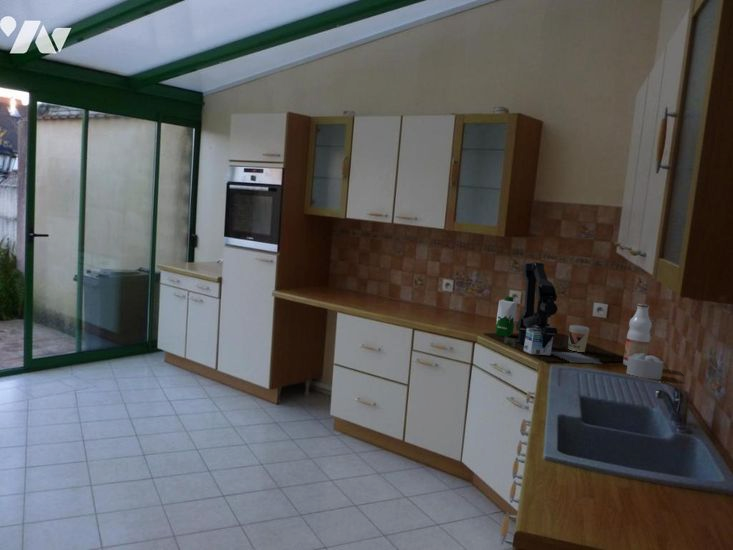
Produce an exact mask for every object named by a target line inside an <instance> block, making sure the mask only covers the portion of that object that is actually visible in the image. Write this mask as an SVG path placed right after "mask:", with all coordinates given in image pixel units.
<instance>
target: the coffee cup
mask: <svg viewBox="0 0 733 550" xmlns="http://www.w3.org/2000/svg"><path fill="white" fill-rule="evenodd" d="M568 328H569V331H568V344H567V350H568V349H569V350H572V351H577V352H584V353H585V352H586V347H587V343H588V339H589V333H590V330H591V329H590V327H588V326H585V325H579V324H570V325H569V327H568ZM569 350H568V351H569ZM572 351H571V352H572ZM577 352H576V353H577Z"/></svg>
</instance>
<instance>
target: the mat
mask: <svg viewBox="0 0 733 550" xmlns="http://www.w3.org/2000/svg"><path fill="white" fill-rule="evenodd" d="M552 354H553V356H555V357H557V356H558V357H557V358H559V357H560V358H559V359H562V358H563V359H562V360H564V359H565V360H564V361H566V360H567V361H566V362H568V361H569V363H571V364H572V363H573V364H590V363H594V364H593V365H603V362H601V361H598V360H597V359H593V358H591V357H589V356H586V355H583V354H582V353H577V352H566V351H562V352H559V351H551V355H552Z"/></svg>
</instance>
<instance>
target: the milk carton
mask: <svg viewBox="0 0 733 550" xmlns="http://www.w3.org/2000/svg"><path fill="white" fill-rule="evenodd" d="M504 298H505V299H500V300H498V307H497V313H496V320H495V321H496V322H495V335H496V336H501V337H505V336H508V337H507V338H510V337H512V336H511V335H513V333H514V332H513V331H514V327H515V320H516V314H517V303H518V301H514V297H513V296H509V295H508V296H505V297H504ZM509 336H510V337H509Z"/></svg>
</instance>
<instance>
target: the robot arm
mask: <svg viewBox="0 0 733 550" xmlns="http://www.w3.org/2000/svg"><path fill="white" fill-rule="evenodd" d="M522 272H523V274H522V276H523V277H524V280H525V292H524V293H525V296H524V307H523V312H522V313H521V314H520V316H519V320H518V321H517V323H516V325H515V326H516V327H515V329H516V331H518V332H519V333H518V340H515V341H516V342H515V343H517V342H518V343H517V344H519V345H523V344H525V337H526V330H527V328H531V329H541V331H542V332H543V333H541V334H542V336H543V341H542V347H543V348H545V347H546V345H547V344H548V343H549V341H550V340H551V338H552V337H553V338H554V336H556V335H558V331H559V329H558V327H554V326H551V325H550V323H549V318H552V317H551V316H554V315H556V314H557V312H558V305H557V303H555V302H557V298H558V297H557V291H556V287H555V285H554V283H553V282H551V281H550V280H549V279H548V276H547V274H546V271H545V264H544V263H542V262H537V261H534V262H530V263H529V262H527V263H525V264H523V265H522ZM536 295H537V302H536ZM535 303H536V310H535Z"/></svg>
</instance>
